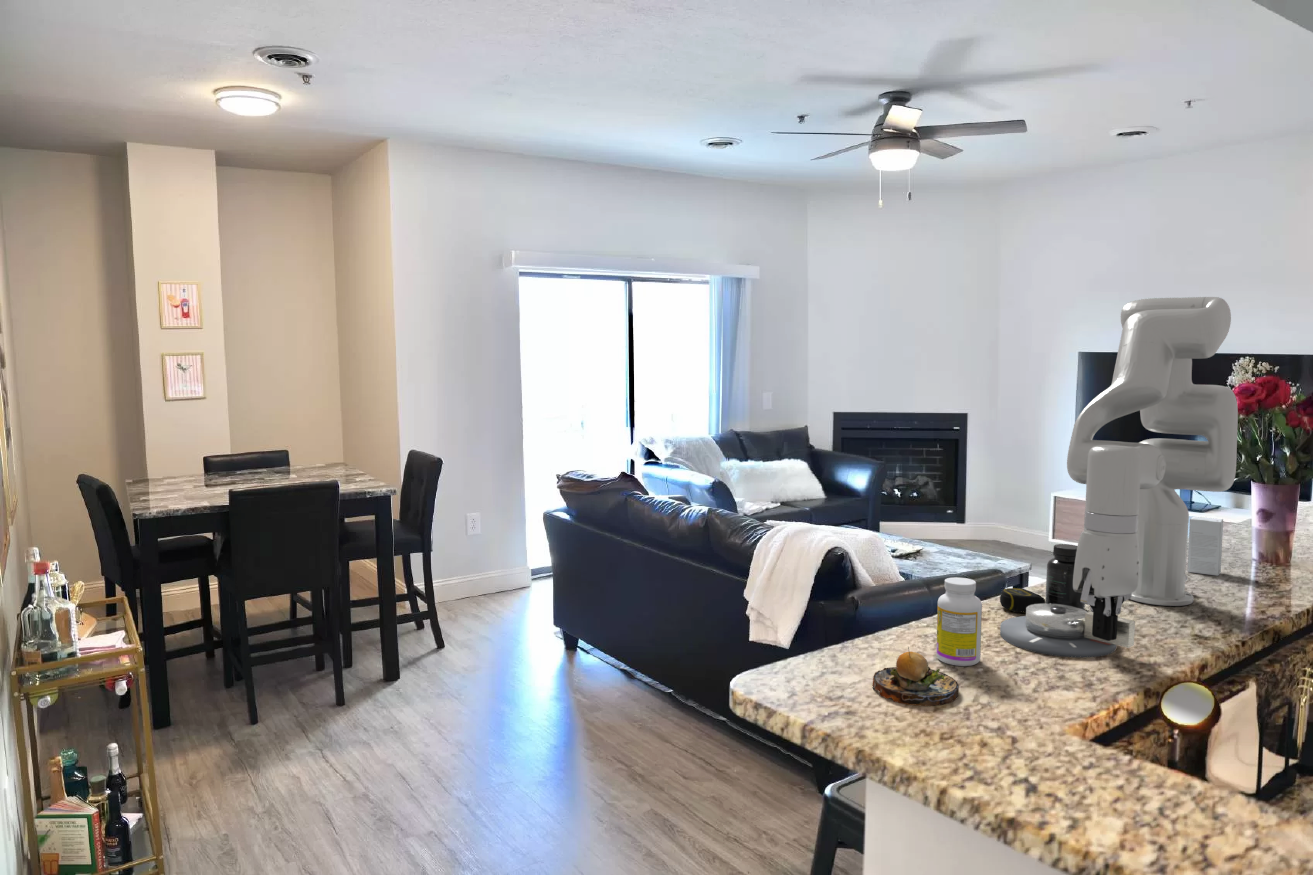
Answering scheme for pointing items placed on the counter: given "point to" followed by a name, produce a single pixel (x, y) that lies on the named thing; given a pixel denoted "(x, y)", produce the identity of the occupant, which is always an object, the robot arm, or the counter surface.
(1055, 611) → the dial
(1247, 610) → the counter surface
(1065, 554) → the supplement bottle
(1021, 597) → the tape measure
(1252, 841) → the counter surface
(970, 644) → the supplement bottle
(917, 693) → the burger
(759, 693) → the counter surface
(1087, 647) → the base plate
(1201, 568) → the skincare box
